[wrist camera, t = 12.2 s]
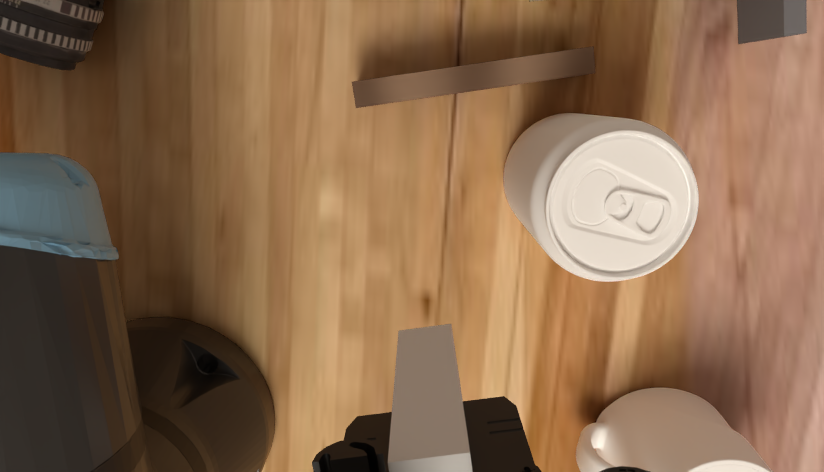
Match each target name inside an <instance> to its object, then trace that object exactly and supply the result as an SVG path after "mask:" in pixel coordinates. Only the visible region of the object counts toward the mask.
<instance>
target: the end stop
mask: <svg viewBox="0 0 824 472" xmlns="http://www.w3.org/2000/svg"><path fill="white" fill-rule="evenodd" d="M737 10H738V44H742V43H749V42H756V41H762V40H768V39H774V38H780V37H786V36H792V35H798V34H804V33H807V28H806V0H737Z"/></svg>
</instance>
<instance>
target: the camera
mask: <svg viewBox="0 0 824 472" xmlns="http://www.w3.org/2000/svg"><path fill="white" fill-rule="evenodd" d="M103 3H104V0H0V53H2V54H4V55H7V56H10V57H14V58H17V59H21V60H24V61H28V62H31V63H34V64H38V65H41V66H46V67H51V68H55V69H60V70H74V69H75V65H76V62H81V61H83V60H84V59H85V55H86V52H87V51H90V50H91V48H92V44H93V39H92V37H93V33H94V30H96V29H97V25H98V23H101V21H102V19H103V15H104V12H103V10H102V9H103V8H102V7H103Z"/></svg>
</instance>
